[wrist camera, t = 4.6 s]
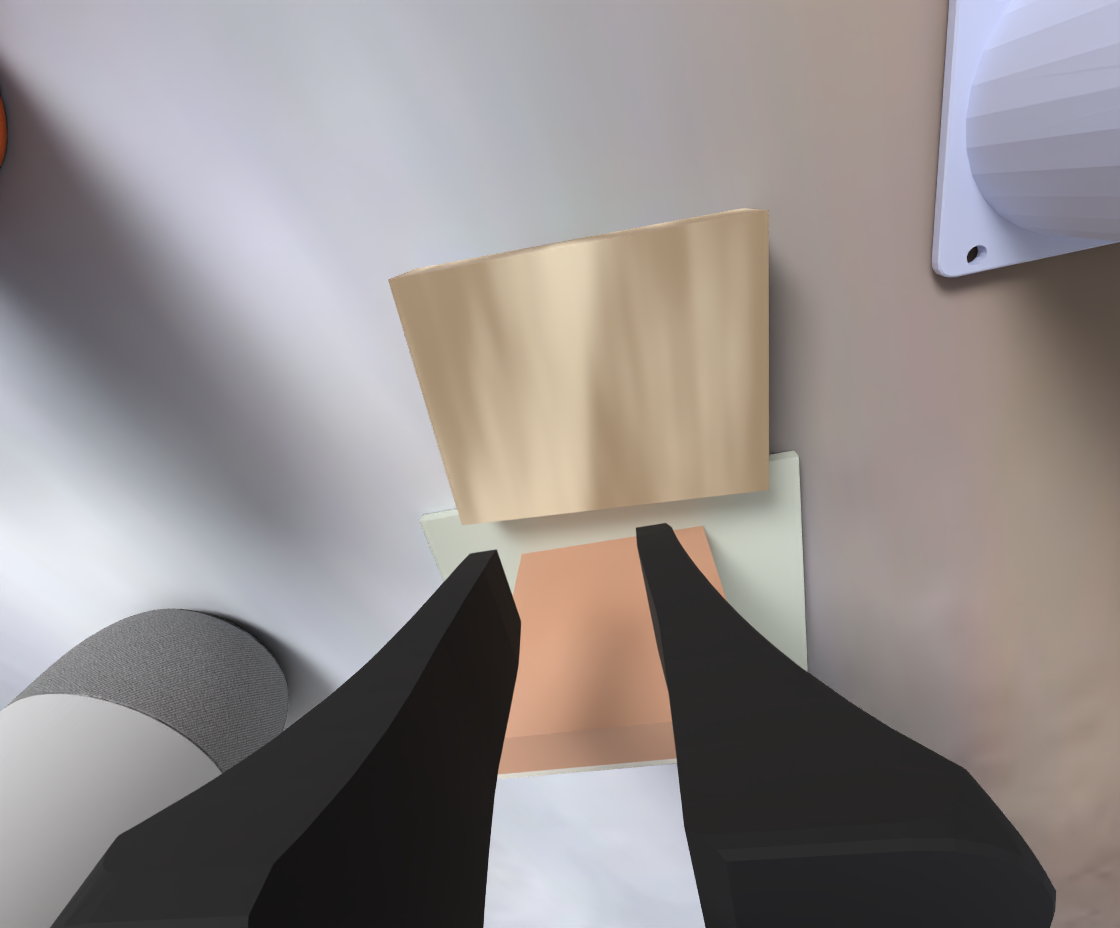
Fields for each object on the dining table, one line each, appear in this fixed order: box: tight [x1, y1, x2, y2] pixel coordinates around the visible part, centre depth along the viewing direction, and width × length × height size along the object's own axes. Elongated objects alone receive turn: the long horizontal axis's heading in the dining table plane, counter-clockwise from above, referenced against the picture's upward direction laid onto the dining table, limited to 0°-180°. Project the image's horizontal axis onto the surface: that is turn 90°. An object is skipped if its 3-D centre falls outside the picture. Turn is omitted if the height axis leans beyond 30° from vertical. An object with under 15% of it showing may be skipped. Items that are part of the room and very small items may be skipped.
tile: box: [498, 526, 727, 779], centre depth 17 cm, size 7×2×8 cm, turn 103°
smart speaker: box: [0, 609, 288, 928], centre depth 19 cm, size 10×9×14 cm
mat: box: [420, 450, 808, 672], centre depth 22 cm, size 14×13×1 cm
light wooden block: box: [388, 208, 769, 525], centre depth 17 cm, size 3×8×10 cm
